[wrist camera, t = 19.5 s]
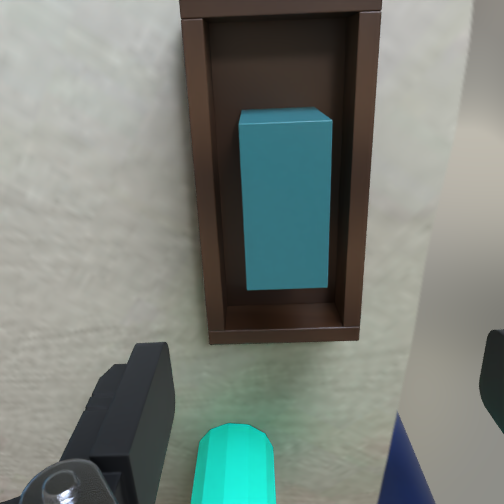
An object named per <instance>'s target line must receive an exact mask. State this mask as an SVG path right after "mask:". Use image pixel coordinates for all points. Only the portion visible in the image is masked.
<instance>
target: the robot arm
mask: <svg viewBox="0 0 504 504" xmlns="http://www.w3.org/2000/svg"><path fill="white" fill-rule="evenodd" d="M479 389H480V395H481V399H482V401H483V403H484V406H485V407H486V409H487V410H488V412H489V413H490V415H491V416H492V418H493V419H494V421H495V422H496V424H497V425H498V427H499V428H500V429H501V431H502V432H503V434H504V329H503V330H492V331H490V333H489V334H488V337H487V341H486V347H485V353H484V358H483V363H482V369H481V375H480V380H479ZM85 408H86V409H85V411H83V413H82V415H81V418H80V420H79V422H78V424H77V426H76V428H75V430H74V432H73V434H72V436H71V438H70V440H69V442H68V444H67V446H66V448H65V450H64V452H63V454H62V457H61V459H60V461H59V462H57V463H55V464H53V465H51V466H49V467H47V468H45V469H44V470H42V471H41V472H40V473H38V474H37V475H36V476H35V477H34V478H33V479H32V480H31V481H30V482H29V483H28V484H27V486H26V487H25V489H24V490H23V492H22V494H21V496H19V497H16V498H14V499H11V500H8V501H5V502H1V503H0V504H155V500H156V496H157V491H158V487H159V482H160V478H161V473H162V469H163V464H164V460H165V455H166V451H167V446H168V442H169V437H170V433H171V428H172V424H173V419H174V413H175V390H174V383H173V376H172V368H171V361H170V354H169V348H168V344H167V343H166V342H155V343H137V344H136V345H135V346H134V348H133V351H132V353H131V356H130V358H129V360H128V363H127V364H114V365H113V366H112V367H111V368H110V369H109V370H108V371H107V372H106V373H105V374H104V375H103V376H102V377H100V379H99V381H98V383H97V385H96V387H95V389H94V391H93V393H92V397H90V399H89V401H88V403H87V405H86V407H85Z"/></svg>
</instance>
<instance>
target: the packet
mask: <svg viewBox="0 0 504 504" xmlns="http://www.w3.org/2000/svg"><path fill="white" fill-rule="evenodd" d="M332 123H333V121H332V120H331V119H330V118H329V117H327V116H326V115H325V114H323V113H322V112H321V111H319V110H318V109H317V108H315V107H296V108H272V109H247V110H242V111H241V115H240V120H239V124H238V128H239V148H240V168H241V188H242V207H243V227H244V247H245V267H246V287H247V290H273V289H302V288H327V287H328V259H329V225H330V191H331V157H332Z"/></svg>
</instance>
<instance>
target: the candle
mask: <svg viewBox="0 0 504 504" xmlns="http://www.w3.org/2000/svg"><path fill="white" fill-rule="evenodd" d="M191 504H276V493H275V473H274V454H273V446H272V444H271V443H270V441H269V439H268V438H267V436H266V434H265V433H263V432H261V431H260V430H258V429H256V428H254V427H252V426H251V425H248V424H235V423H227V424H224V425H221V426H219V427H216V428H213V429H210V430H209V432H208V433H207V434H206V435H205V436H204V437H203V438H202V439H201V441H200V442H199V448H198V455H197V463H196V470H195V477H194V484H193V491H192V498H191Z"/></svg>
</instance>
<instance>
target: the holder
mask: <svg viewBox="0 0 504 504" xmlns="http://www.w3.org/2000/svg"><path fill="white" fill-rule="evenodd" d="M179 4H180V16H181V19H182V20H181V27H182V38H183V50H184V61H185V72H186V84H187V95H188V107H189V118H190V129H191V141H192V152H193V164H194V175H195V187H196V198H197V209H198V221H199V232H200V244H201V255H202V266H203V278H204V289H205V301H206V312H207V323H208V335H209V344H210V345H223V344H257V343H291V342H324V341H358V340H359V332H360V319H361V304H362V290H363V275H364V260H365V245H366V231H367V216H368V201H369V187H370V172H371V157H372V142H373V128H374V113H375V98H376V83H377V69H378V54H379V39H380V25H381V9H382V0H179ZM296 107H315V108H317V109H318V110H319V111H321V112H322V113H323V114H325V115H326V116H327V117H329V118H330V119H331V120H332V121H333V123H332V157H331V191H330V225H329V259H328V287H327V288H302V289H273V290H247V287H246V267H245V247H244V227H243V207H242V188H241V168H240V148H239V128H238V124H239V120H240V115H241V111H242V110H247V109H272V108H296Z"/></svg>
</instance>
